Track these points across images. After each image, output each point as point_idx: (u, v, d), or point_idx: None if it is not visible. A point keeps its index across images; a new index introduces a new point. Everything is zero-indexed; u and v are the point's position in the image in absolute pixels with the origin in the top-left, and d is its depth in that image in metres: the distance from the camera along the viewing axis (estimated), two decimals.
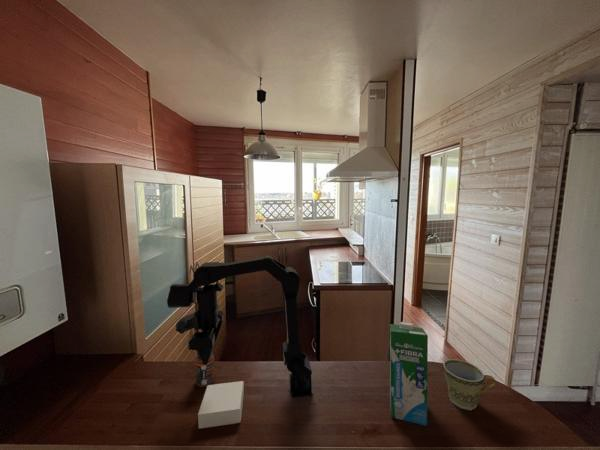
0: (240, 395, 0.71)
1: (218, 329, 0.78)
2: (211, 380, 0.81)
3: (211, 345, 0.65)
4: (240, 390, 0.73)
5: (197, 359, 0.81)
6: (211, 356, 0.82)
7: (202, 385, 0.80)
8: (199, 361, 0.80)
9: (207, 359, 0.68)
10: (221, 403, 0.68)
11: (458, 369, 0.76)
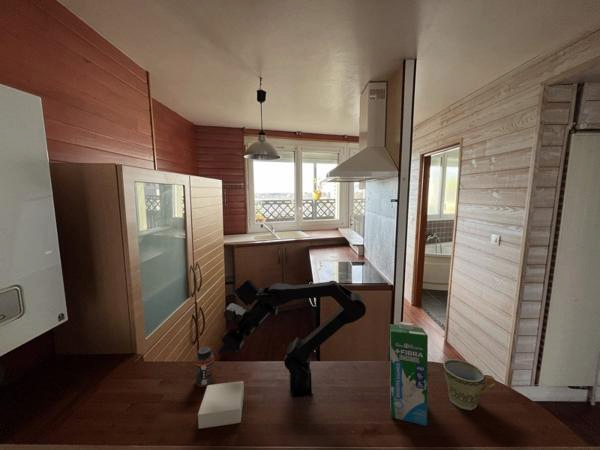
0: (240, 395, 0.71)
1: None
2: (211, 380, 0.81)
3: (236, 352, 0.71)
4: (240, 390, 0.73)
5: (197, 359, 0.81)
6: (211, 356, 0.82)
7: (202, 385, 0.80)
8: (199, 361, 0.80)
9: (223, 353, 0.75)
10: (221, 403, 0.68)
11: (458, 369, 0.76)
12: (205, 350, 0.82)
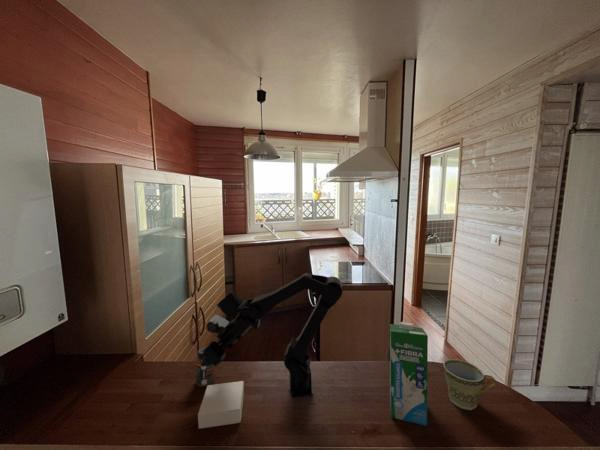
0: (240, 395, 0.71)
1: None
2: (211, 380, 0.81)
3: (217, 365, 0.72)
4: (240, 390, 0.73)
5: (197, 359, 0.81)
6: None
7: (202, 385, 0.80)
8: (199, 361, 0.80)
9: (205, 364, 0.76)
10: (221, 403, 0.68)
11: (458, 369, 0.76)
12: None
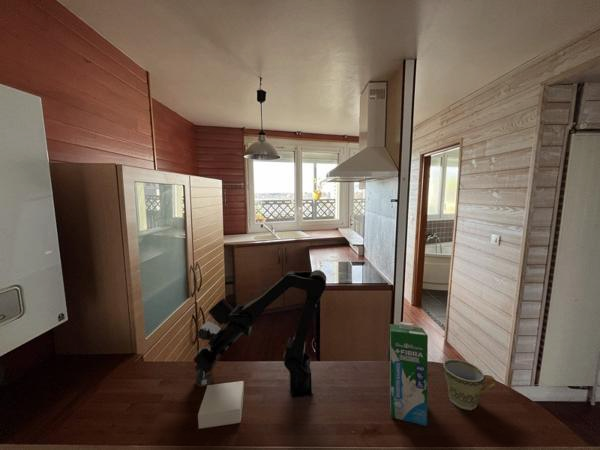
0: (240, 395, 0.71)
1: None
2: (211, 380, 0.81)
3: (208, 372, 0.73)
4: (240, 390, 0.73)
5: None
6: None
7: (202, 385, 0.80)
8: None
9: (200, 368, 0.78)
10: (221, 403, 0.68)
11: (458, 369, 0.76)
12: None
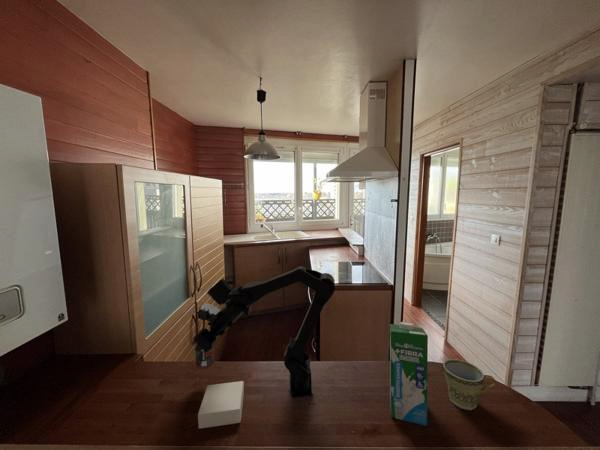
0: (240, 395, 0.71)
1: None
2: (211, 362, 0.80)
3: (208, 351, 0.72)
4: (240, 390, 0.73)
5: None
6: None
7: (202, 367, 0.79)
8: None
9: (199, 349, 0.78)
10: (221, 403, 0.68)
11: (458, 369, 0.76)
12: None
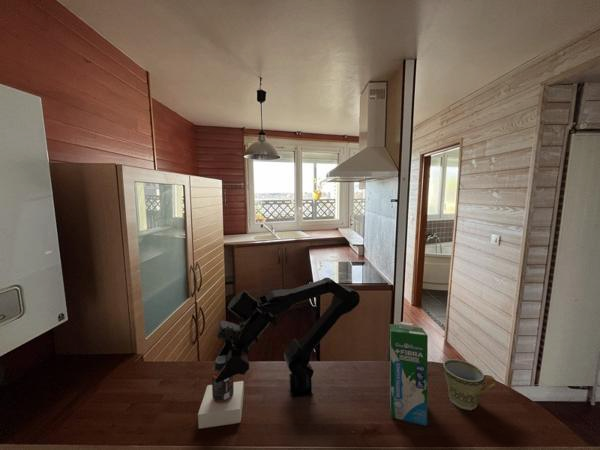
0: (240, 395, 0.71)
1: None
2: (232, 391, 0.71)
3: (245, 373, 0.63)
4: (240, 390, 0.73)
5: (216, 371, 0.68)
6: None
7: (224, 400, 0.68)
8: None
9: (223, 379, 0.65)
10: (221, 403, 0.68)
11: (458, 369, 0.76)
12: (223, 359, 0.70)
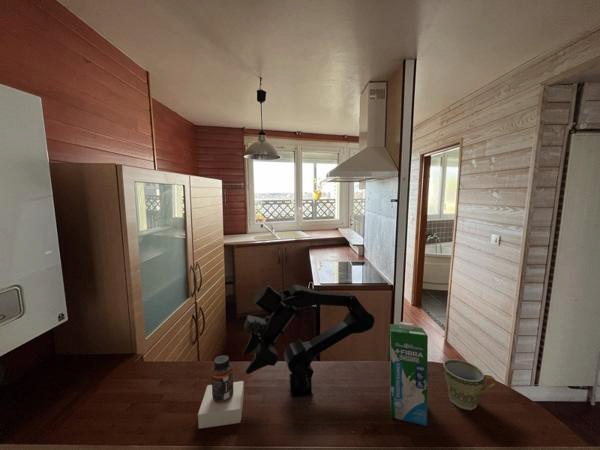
0: (240, 395, 0.71)
1: (259, 343, 0.79)
2: (232, 391, 0.71)
3: (274, 364, 0.66)
4: (240, 390, 0.73)
5: (216, 371, 0.68)
6: (230, 364, 0.71)
7: (224, 400, 0.68)
8: (220, 373, 0.68)
9: (253, 370, 0.68)
10: (221, 403, 0.68)
11: (458, 369, 0.76)
12: (222, 359, 0.70)
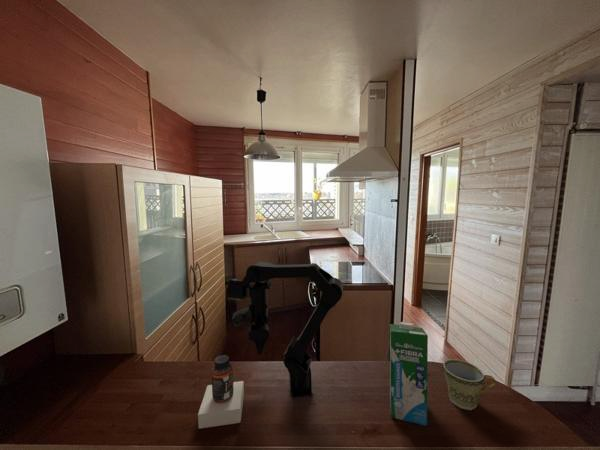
0: (240, 395, 0.71)
1: (265, 323, 0.86)
2: (232, 391, 0.71)
3: (268, 336, 0.72)
4: (240, 390, 0.73)
5: (216, 371, 0.68)
6: (230, 364, 0.71)
7: (224, 400, 0.68)
8: (220, 372, 0.68)
9: (262, 349, 0.75)
10: (221, 403, 0.68)
11: (458, 369, 0.76)
12: (222, 358, 0.70)
